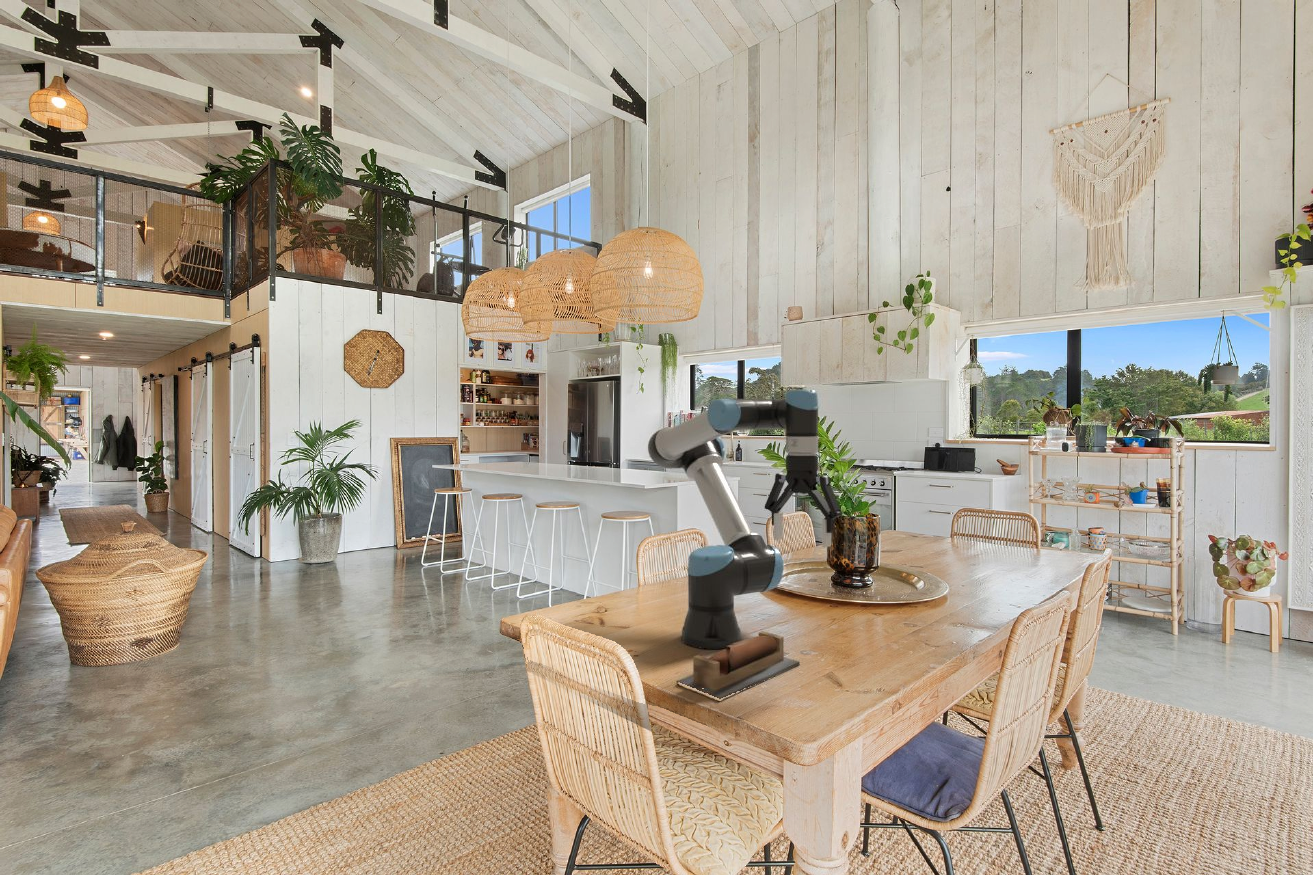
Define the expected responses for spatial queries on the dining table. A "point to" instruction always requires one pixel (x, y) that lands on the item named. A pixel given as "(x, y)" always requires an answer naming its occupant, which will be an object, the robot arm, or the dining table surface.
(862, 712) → the dining table surface
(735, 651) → the sunglasses case
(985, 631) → the dining table surface
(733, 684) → the case stand
